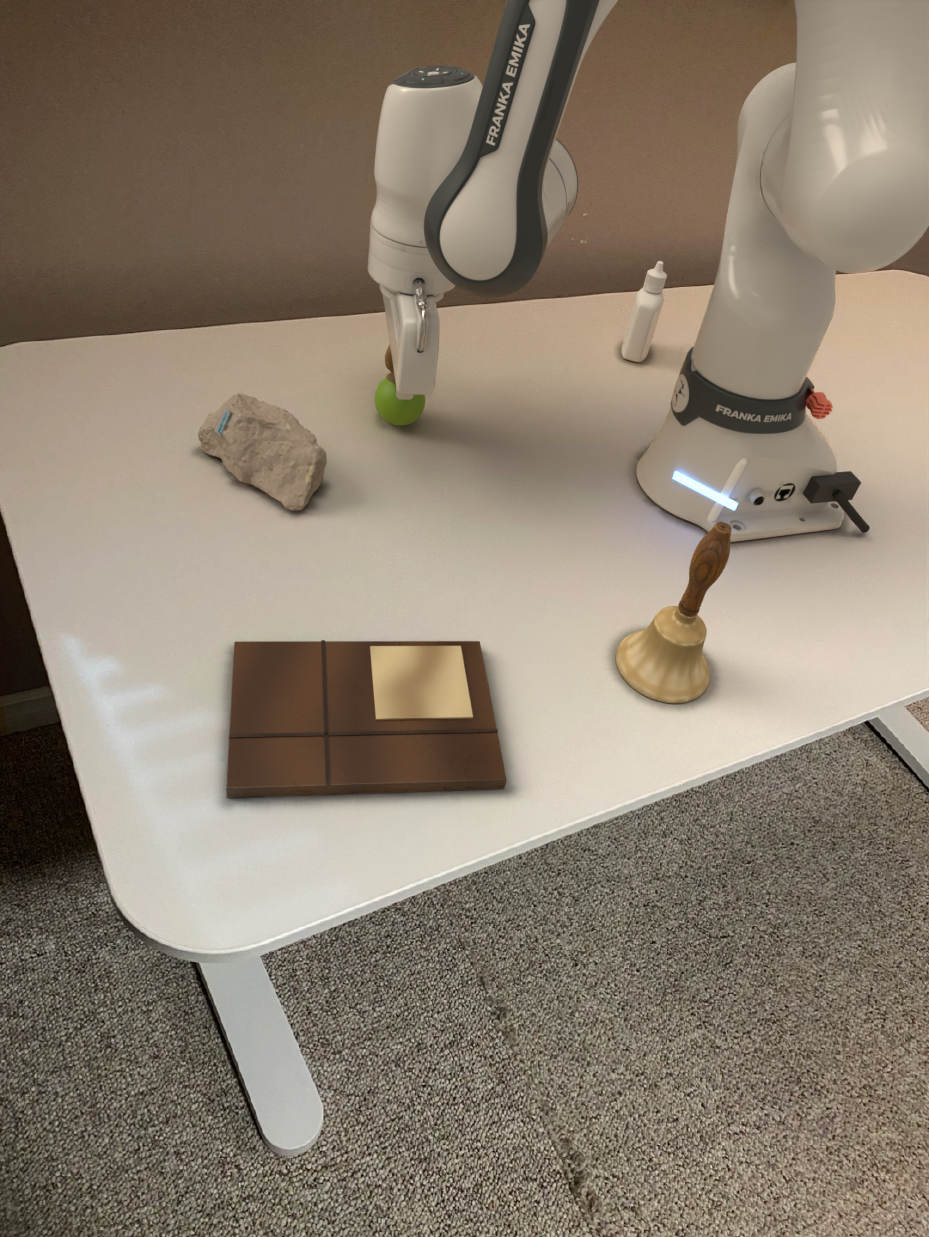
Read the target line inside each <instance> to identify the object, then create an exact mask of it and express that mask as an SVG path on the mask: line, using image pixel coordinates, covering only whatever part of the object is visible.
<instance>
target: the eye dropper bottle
mask: <svg viewBox="0 0 929 1237" xmlns="http://www.w3.org/2000/svg"><path fill="white" fill-rule="evenodd" d="M667 278H668V274H667V273H666V272H665V271H664V262H663V261H661V260H658V261H657V262H656V264H655V266H654V268H650V269H648V270H647V272H646V275H645V278H644V282H643V285H642V287H641V288H640V289H639V290H638V291H637V293H636V295H635V298H634V302H633V306H632V308H631V312H630V316H629V320H628V324H627V327H626V330H625V333H624V337H623V342H622V344H621V349H620V352H621V356H622V358H623V359H624V360H627V361H631V362H634V363H641V362H643V361H644V360H645V359H646V358H647V357H648V355H649V351H650V348H651V344H652V341H653V339H654V335H655V332H656V329H657V325H658V321H659V319H660V315H661V312H662V309H663V306H664V301H665V297H664V296H665V295H664V293H663V291H664V287H665V285H666V281H667Z"/></svg>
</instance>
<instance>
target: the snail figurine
mask: <svg viewBox="0 0 929 1237" xmlns="http://www.w3.org/2000/svg"><path fill="white" fill-rule="evenodd" d="M384 365H385V368H386V369H387V370H388V371H389V373H386V374H385V377H384V378H383V379H382V380H381V381H380V383H379V384H378V385H377V387H376V389H375V392H374V406H375V409H376V411H377V413H378V415H379V416H380V417H381V418H382V419H383V420H384V421H385V422H387V424H391V425H393V426H406V425H410V424H412V423H414V422H416V421H417V420H418V419H419V418H420V416H421V415H422V414H423V412H424V410H425V406H426V395H414V396H413V398H412V399H411V400H402V399H398V398H397V397H396V390H395V386H396V382H395V375H394V369H393V362H392V355H391V348H390V344H389V345H388V346H387V349H386V351H385V354H384Z"/></svg>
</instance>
